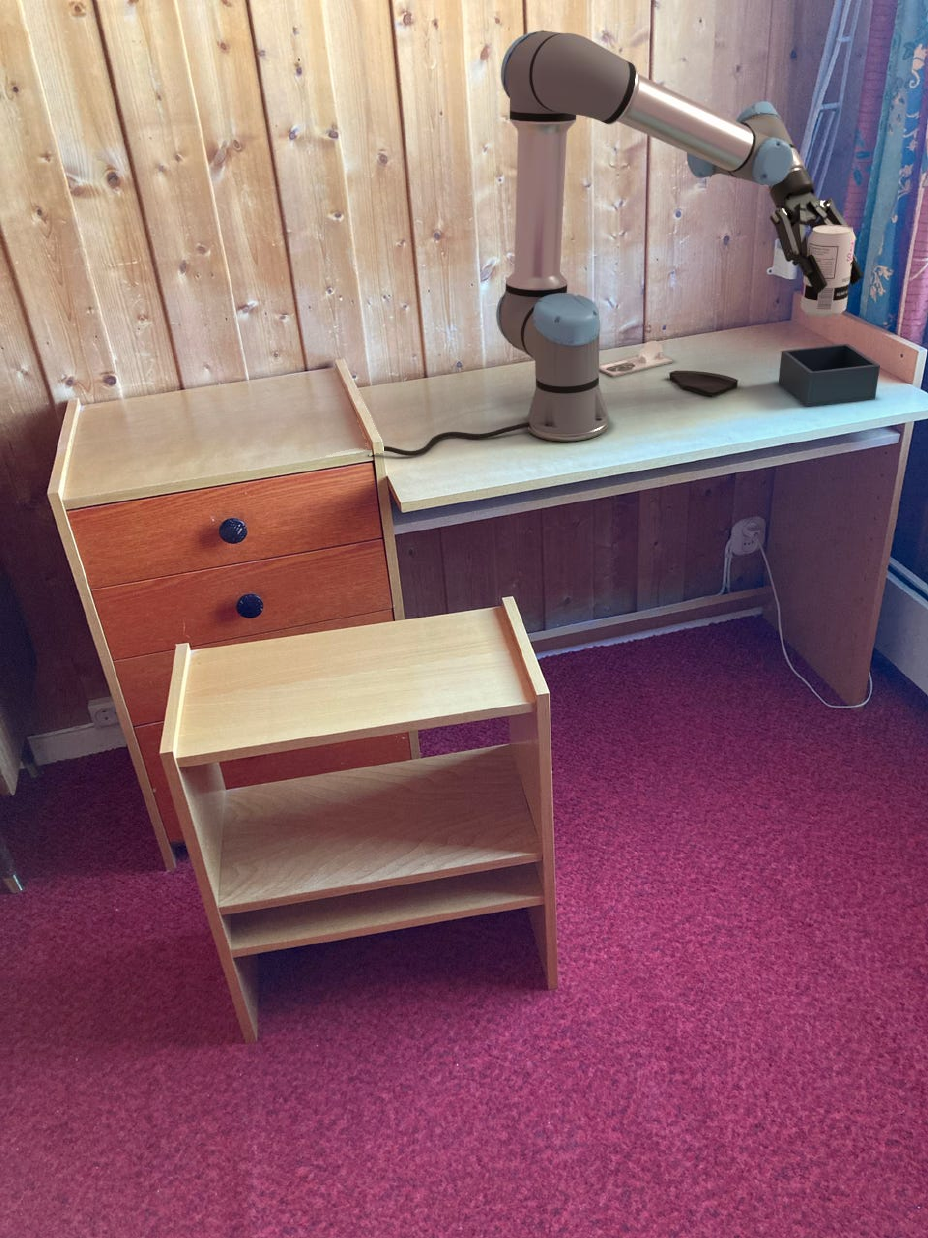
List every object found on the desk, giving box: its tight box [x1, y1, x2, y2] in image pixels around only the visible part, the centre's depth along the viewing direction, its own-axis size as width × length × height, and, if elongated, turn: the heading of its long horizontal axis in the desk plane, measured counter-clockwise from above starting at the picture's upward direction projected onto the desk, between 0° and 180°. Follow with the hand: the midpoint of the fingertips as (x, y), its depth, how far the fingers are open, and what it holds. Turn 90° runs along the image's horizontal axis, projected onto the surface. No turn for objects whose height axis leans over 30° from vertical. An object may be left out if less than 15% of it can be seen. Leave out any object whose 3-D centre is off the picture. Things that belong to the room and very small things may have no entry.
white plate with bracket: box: [599, 340, 673, 378], centre depth 222 cm, size 15×7×4 cm, turn 117°
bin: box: [778, 343, 881, 408], centre depth 202 cm, size 14×14×7 cm
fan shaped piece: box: [668, 370, 739, 398], centre depth 210 cm, size 8×14×2 cm, turn 36°
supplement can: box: [799, 225, 856, 318], centre depth 194 cm, size 8×8×15 cm
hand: (839, 284), depth 192 cm, fingers closed on supplement can, 8 cm apart
